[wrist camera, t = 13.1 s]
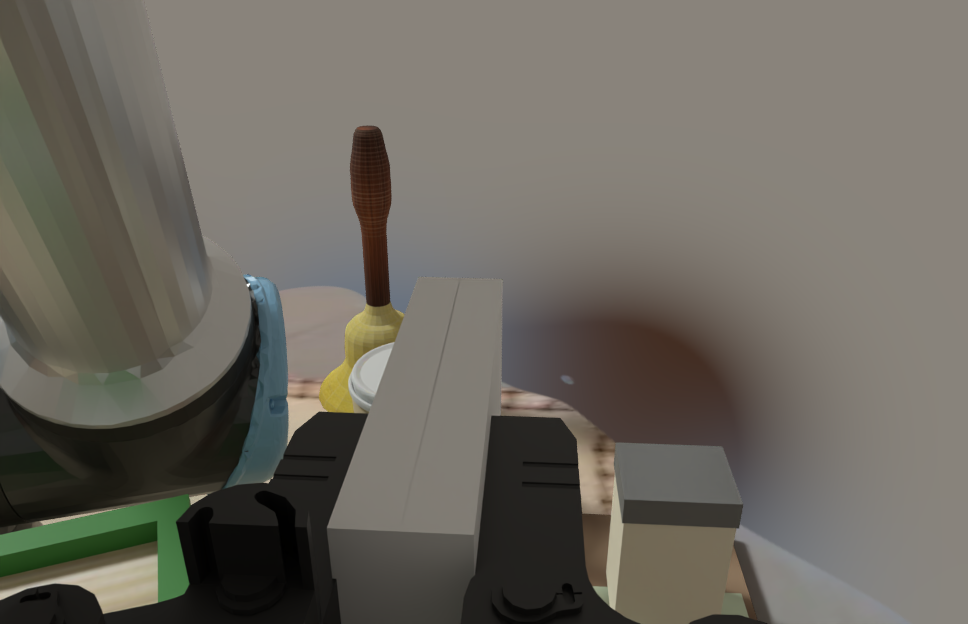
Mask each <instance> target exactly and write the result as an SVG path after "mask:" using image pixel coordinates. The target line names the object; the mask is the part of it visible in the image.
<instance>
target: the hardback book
mask: <svg viewBox="0 0 968 624" xmlns="http://www.w3.org/2000/svg"><path fill="white" fill-rule="evenodd" d="M190 506H191V504H190V499H189V494H186V495H181V496H176V497H172V498H167V499H163V500H158V501H154V502H149V503H144V504H140V505H135V506H131V507H126V508H121V509H117V510H112V511H108V512H103V513H98V514H94V515H89V516H85V517H80V518H76V519H71V520H66V521H62V522H57V523H53V524H48V525H43V526H39V527H34V528H30V529H25V530H20V531H16V532H11V533H7V534H2V535H0V600H2V599H4V598H6V597H9V596H11V595H13V594H16V593H18V592H21V591H23V590H25V589H28V588H33V587H38V586H43V585H49V584H54V583H57V584H69V585H79V586H81V587H82V588H84V589H86V590H88V591H90V592H91V593H93V594H95V596H96V598H97V600H98V602H99V605H100V607H101V609H102V612H103V614H105V613H110V612H115V611H120V610H124V609H129V608H134V607H139V606H144V605H149V604H154V603H158V602H162V601H165V600H169V599H172V598H176V597H178V596H181V595H183V594H184V593H185V591H186V590H187V588H188V586H189V580H188V576H187V571H186V566H185V562H184V557H183V553H182V548H181V543H180V539H179V534H178V530H177V525H176V521H177V520H178V519H179V518H180V517H181V516H182V514H183V513H184V512H185V511H186V510H187V509H188V508H189V507H190Z"/></svg>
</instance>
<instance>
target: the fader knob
mask: <svg viewBox="0 0 968 624" xmlns="http://www.w3.org/2000/svg"><path fill="white" fill-rule="evenodd" d="M614 470H615V479H614V490H613V501H612V512H611V523H610V534H609V545H608V556H607V567H606V576H607V586H608V595H609V605H610V607H611V608H612V609H614V610H615V611H617V612H618V613H620V614H621V615H623V616H624V617H626V618H628V619H631V620H633V621H635V622H638V623H640V624H689V623H690V622H691V621H694V620H697V619H700V618H703V617H706V616H709V615H712V614H721V611H722V605H723V600H724V594H725V588H726V583H727V577H728V572H729V566H730V561H731V555H732V549H733V544H734V538H735V533H736V528H739V525H740V519H741V514H742V508H743V503H742V500H741V497H740V494H739V492H738V489H737V486H736V483H735V481H734V478H733V475H732V472H731V470H730V467H729V464H728V461H727V459H726V456H725V453H724V450H723V447H718V446H692V445H665V444H637V443H616V446H615V457H614Z"/></svg>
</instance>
